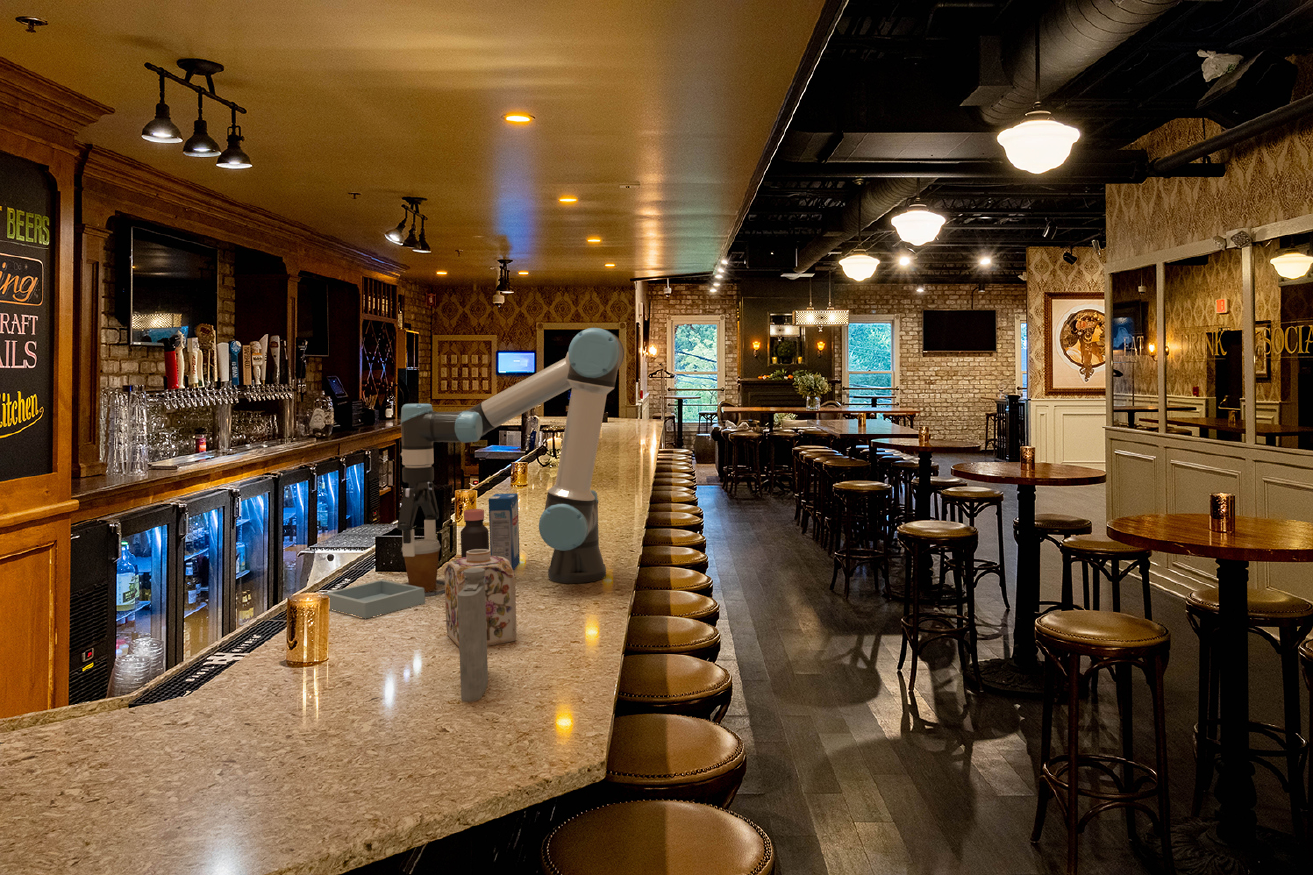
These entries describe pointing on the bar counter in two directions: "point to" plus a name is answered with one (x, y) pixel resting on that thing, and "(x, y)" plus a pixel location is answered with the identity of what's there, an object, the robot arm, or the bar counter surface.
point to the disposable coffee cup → (423, 564)
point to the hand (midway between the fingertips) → (419, 550)
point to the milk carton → (504, 527)
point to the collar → (434, 591)
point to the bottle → (474, 532)
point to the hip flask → (473, 635)
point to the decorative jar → (496, 595)
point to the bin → (375, 598)
